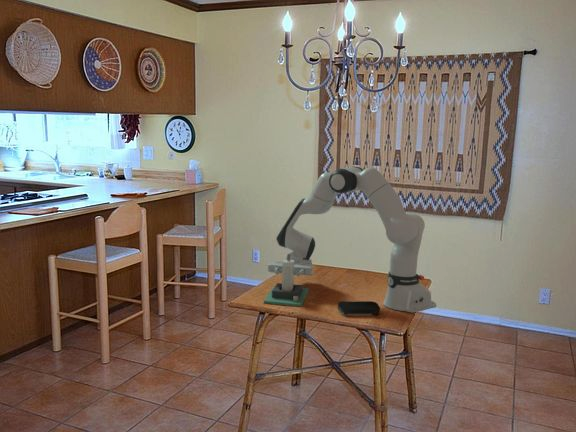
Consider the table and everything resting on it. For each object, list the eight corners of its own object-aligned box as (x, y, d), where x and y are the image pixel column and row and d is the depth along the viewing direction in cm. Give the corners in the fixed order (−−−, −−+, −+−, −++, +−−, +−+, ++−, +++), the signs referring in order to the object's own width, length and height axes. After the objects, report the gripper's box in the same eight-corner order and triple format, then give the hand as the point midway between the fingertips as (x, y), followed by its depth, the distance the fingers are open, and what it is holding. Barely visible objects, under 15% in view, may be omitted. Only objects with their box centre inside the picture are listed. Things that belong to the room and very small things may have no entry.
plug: (283, 292, 231) (284, 251, 228) (293, 293, 231) (294, 252, 227) (281, 296, 226) (282, 254, 223) (291, 297, 225) (292, 255, 222)
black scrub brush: (375, 309, 217) (376, 301, 216) (380, 317, 209) (380, 308, 208) (336, 309, 216) (337, 301, 216) (339, 316, 208) (340, 308, 207)
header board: (274, 287, 241) (274, 279, 240) (308, 290, 238) (309, 282, 238) (263, 303, 220) (263, 294, 219) (301, 306, 217) (301, 297, 216)
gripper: (271, 256, 241) (264, 264, 228) (315, 259, 237) (310, 267, 224) (270, 269, 242) (264, 278, 229) (314, 273, 238) (310, 282, 225)
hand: (287, 273), depth 226 cm, fingers open, 8 cm apart
